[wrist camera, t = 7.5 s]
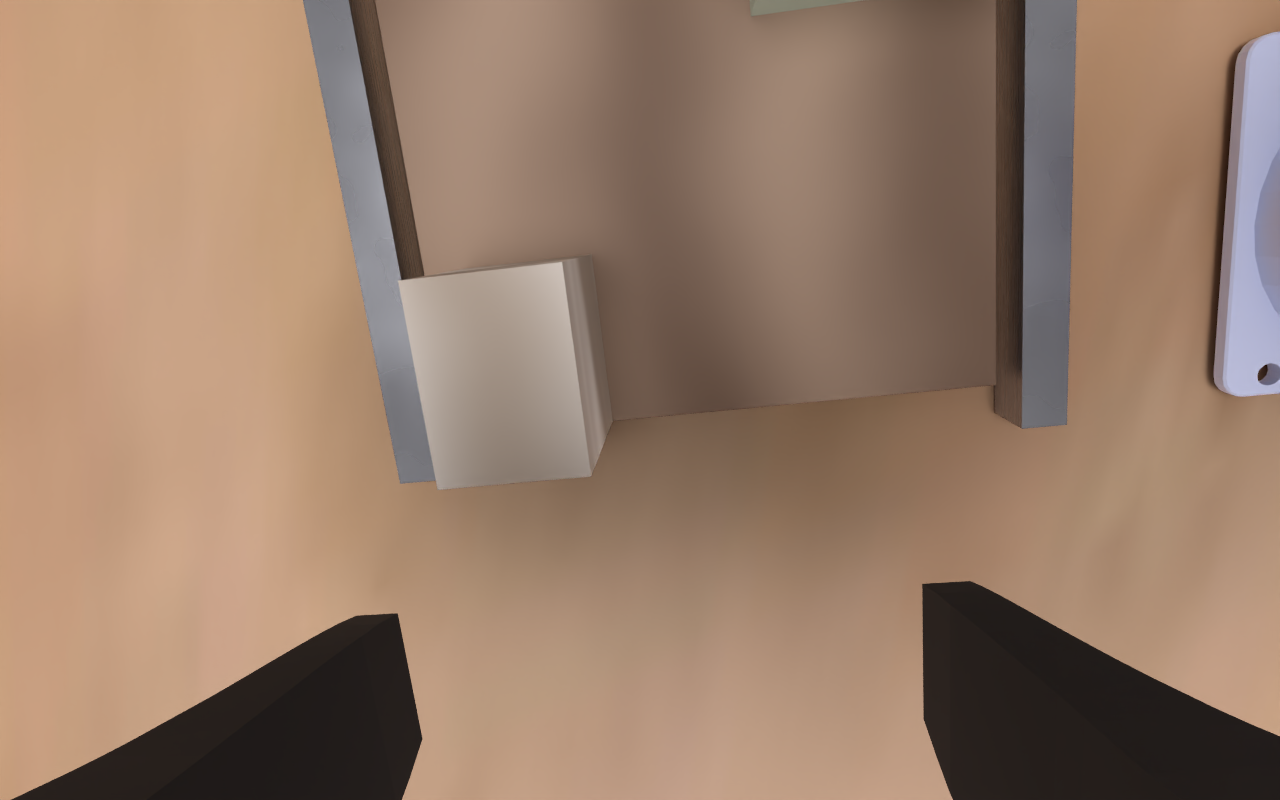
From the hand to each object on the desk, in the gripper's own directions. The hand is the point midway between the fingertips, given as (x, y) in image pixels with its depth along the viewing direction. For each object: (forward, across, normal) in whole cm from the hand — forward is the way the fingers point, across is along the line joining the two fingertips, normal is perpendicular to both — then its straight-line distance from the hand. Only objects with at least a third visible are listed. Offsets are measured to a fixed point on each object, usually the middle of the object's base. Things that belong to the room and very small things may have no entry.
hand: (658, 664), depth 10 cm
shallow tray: (+9, -1, -9) cm, 13 cm away
